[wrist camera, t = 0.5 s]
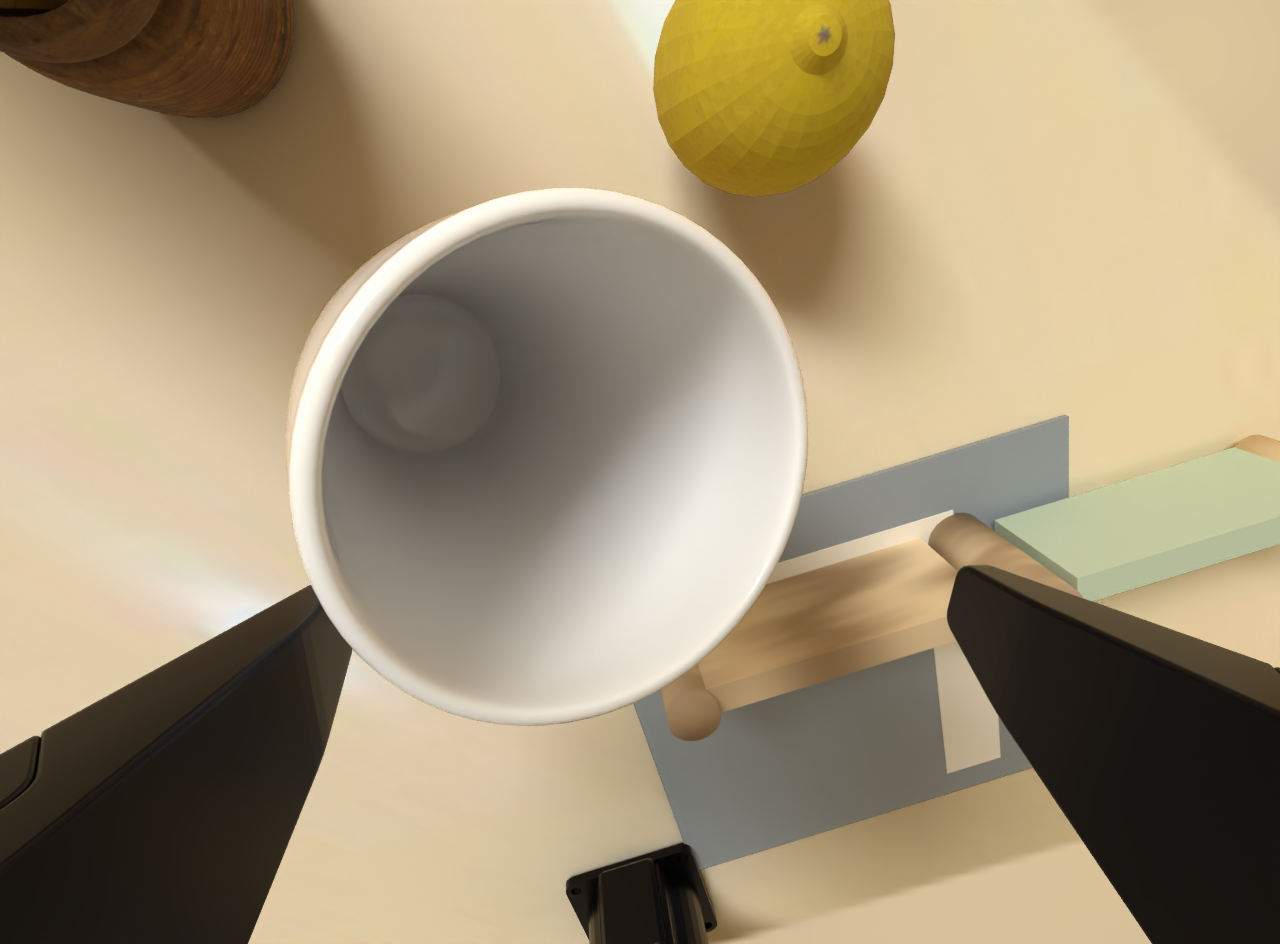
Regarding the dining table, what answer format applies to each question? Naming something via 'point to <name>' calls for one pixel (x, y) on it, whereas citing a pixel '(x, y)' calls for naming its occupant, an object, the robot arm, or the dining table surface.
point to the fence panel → (1157, 521)
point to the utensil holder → (155, 49)
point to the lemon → (770, 87)
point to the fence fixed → (841, 621)
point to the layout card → (861, 673)
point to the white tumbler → (545, 454)
